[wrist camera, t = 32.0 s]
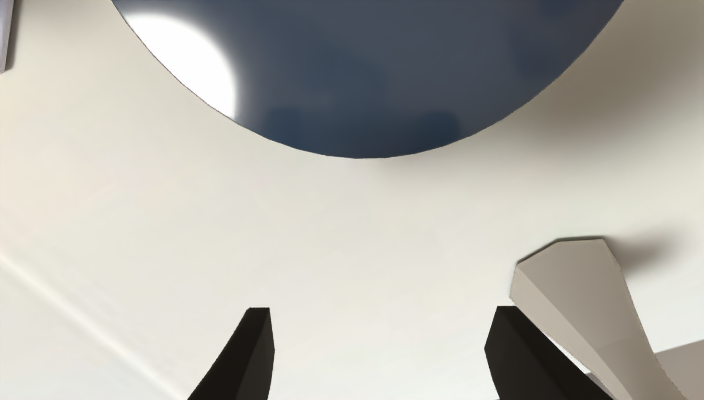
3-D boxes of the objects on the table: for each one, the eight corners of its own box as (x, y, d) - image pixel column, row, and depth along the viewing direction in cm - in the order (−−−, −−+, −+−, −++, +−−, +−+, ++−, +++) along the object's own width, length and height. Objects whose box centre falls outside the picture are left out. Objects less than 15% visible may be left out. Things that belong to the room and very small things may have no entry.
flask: (498, 256, 24) (587, 411, 15) (615, 220, 23) (782, 366, 14) (515, 327, 28) (595, 484, 19) (617, 299, 26) (753, 454, 18)
